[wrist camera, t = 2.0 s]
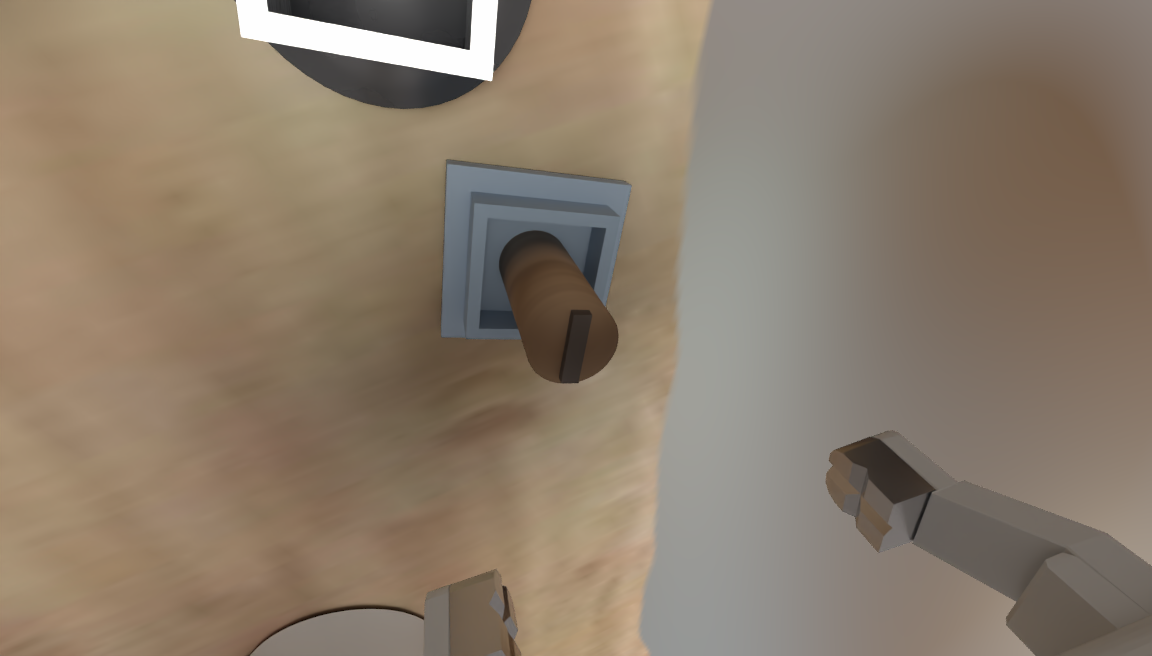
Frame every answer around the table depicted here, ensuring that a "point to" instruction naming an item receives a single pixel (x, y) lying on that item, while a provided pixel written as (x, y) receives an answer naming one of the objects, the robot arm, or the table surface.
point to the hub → (389, 44)
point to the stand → (505, 209)
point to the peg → (556, 309)
